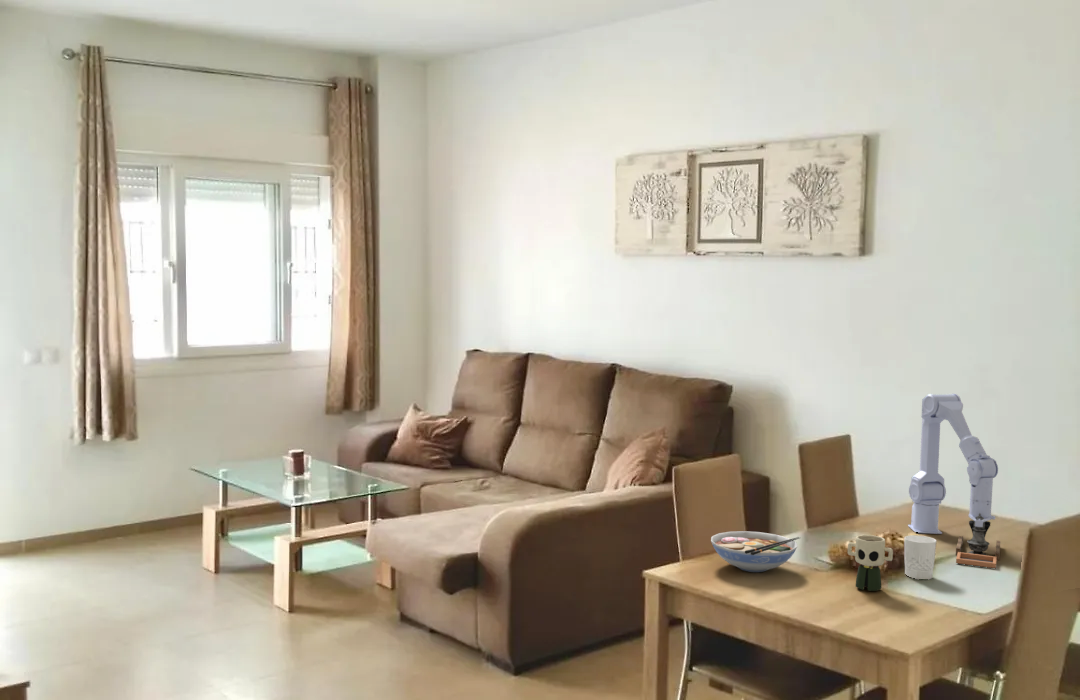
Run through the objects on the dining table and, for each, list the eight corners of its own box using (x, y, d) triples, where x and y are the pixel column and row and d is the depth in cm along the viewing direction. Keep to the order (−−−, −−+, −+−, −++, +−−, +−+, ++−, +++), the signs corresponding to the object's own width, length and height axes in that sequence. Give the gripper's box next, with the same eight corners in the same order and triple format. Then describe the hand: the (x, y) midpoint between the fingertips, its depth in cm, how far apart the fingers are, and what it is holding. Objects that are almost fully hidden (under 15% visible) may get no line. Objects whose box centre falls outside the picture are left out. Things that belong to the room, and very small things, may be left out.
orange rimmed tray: (959, 542, 304) (959, 536, 304) (1000, 547, 300) (1000, 540, 299) (955, 555, 290) (956, 548, 290) (998, 560, 285) (999, 553, 285)
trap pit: (957, 557, 288) (957, 551, 288) (996, 562, 284) (996, 556, 284) (955, 564, 281) (956, 558, 281) (995, 569, 276) (995, 563, 276)
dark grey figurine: (992, 557, 288) (994, 515, 287) (971, 557, 288) (973, 515, 287) (983, 552, 294) (985, 511, 293) (963, 551, 294) (965, 510, 293)
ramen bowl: (743, 551, 289) (744, 523, 288) (815, 569, 273) (816, 539, 272) (689, 567, 271) (690, 537, 271) (763, 587, 255) (764, 555, 255)
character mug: (842, 589, 255) (845, 538, 254) (849, 582, 261) (851, 532, 260) (888, 596, 250) (890, 544, 249) (893, 589, 256) (895, 538, 255)
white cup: (897, 576, 268) (899, 538, 267) (910, 570, 274) (911, 533, 273) (927, 582, 262) (929, 544, 262) (939, 576, 268) (941, 539, 268)
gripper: (995, 506, 286) (992, 554, 287) (996, 496, 299) (994, 542, 300) (968, 503, 289) (965, 550, 290) (970, 494, 302) (968, 539, 303)
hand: (978, 546), depth 295 cm, fingers closed
